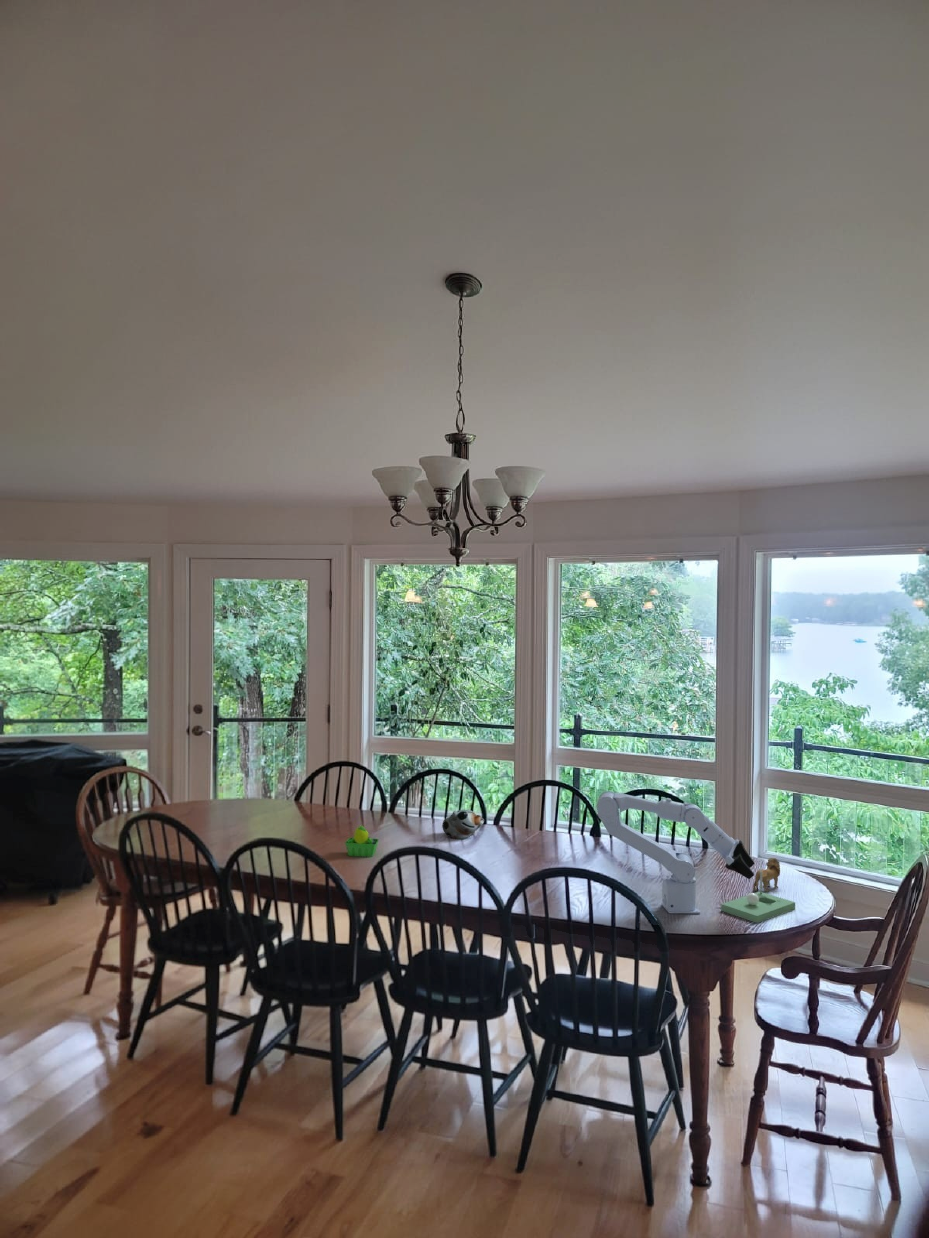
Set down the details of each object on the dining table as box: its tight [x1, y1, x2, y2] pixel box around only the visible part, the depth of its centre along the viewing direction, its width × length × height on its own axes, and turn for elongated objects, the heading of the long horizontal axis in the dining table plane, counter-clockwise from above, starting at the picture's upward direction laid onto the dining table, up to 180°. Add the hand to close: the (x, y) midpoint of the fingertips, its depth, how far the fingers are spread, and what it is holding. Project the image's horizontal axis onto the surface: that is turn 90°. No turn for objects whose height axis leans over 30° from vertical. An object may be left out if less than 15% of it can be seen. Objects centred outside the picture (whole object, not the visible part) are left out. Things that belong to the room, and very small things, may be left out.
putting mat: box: [720, 869, 796, 924], centre depth 233 cm, size 22×12×9 cm, turn 127°
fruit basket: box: [344, 825, 379, 858], centre depth 285 cm, size 11×9×11 cm
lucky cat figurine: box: [441, 809, 485, 840], centre depth 313 cm, size 15×12×14 cm
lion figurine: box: [752, 857, 781, 893], centre depth 252 cm, size 15×5×9 cm, turn 137°
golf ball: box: [746, 892, 759, 905], centre depth 231 cm, size 4×4×4 cm
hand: (751, 871), depth 228 cm, fingers open, 7 cm apart
